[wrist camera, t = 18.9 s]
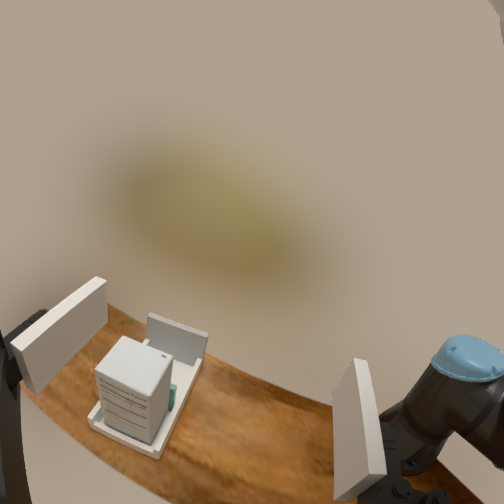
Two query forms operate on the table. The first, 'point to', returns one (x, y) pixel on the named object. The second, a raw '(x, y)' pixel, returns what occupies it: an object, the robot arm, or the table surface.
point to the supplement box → (134, 389)
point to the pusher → (172, 397)
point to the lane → (183, 375)
